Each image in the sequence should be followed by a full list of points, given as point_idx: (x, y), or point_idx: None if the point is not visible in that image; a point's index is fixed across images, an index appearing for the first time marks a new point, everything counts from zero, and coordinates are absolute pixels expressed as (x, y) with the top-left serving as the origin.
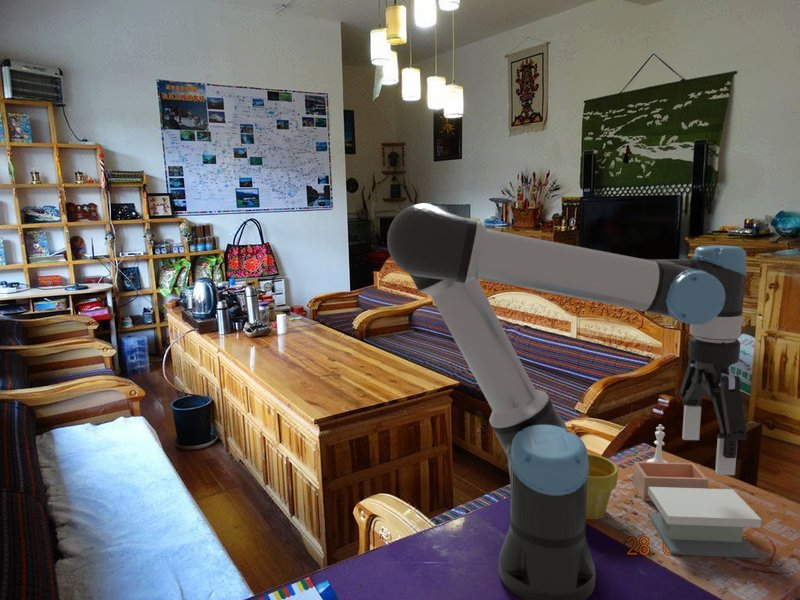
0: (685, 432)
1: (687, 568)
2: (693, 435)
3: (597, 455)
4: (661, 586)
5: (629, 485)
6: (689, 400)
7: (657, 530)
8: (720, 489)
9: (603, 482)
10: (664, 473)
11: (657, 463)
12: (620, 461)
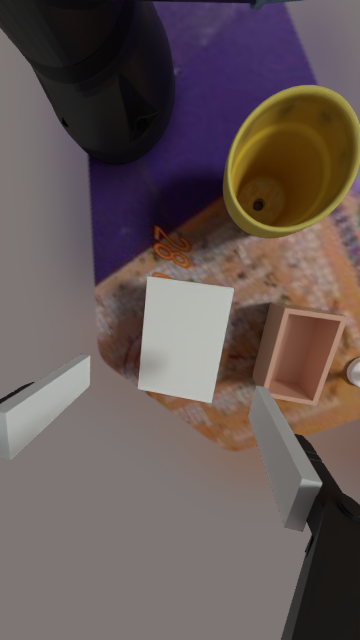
0: (261, 400)
1: (130, 284)
2: (253, 413)
3: (335, 204)
4: (102, 241)
5: (317, 302)
6: (318, 530)
7: None
8: (212, 388)
9: (224, 184)
10: (315, 356)
11: (330, 352)
12: None
